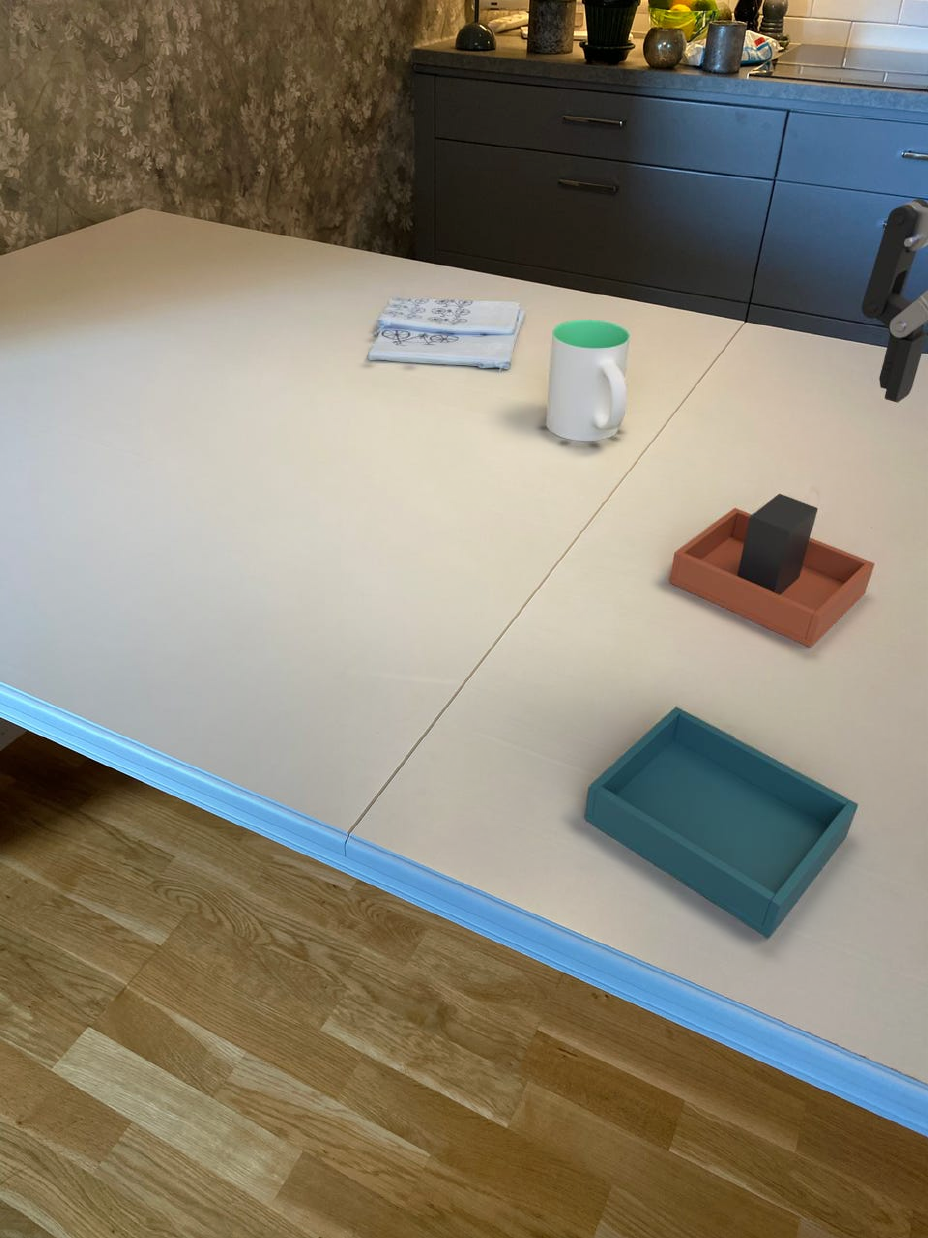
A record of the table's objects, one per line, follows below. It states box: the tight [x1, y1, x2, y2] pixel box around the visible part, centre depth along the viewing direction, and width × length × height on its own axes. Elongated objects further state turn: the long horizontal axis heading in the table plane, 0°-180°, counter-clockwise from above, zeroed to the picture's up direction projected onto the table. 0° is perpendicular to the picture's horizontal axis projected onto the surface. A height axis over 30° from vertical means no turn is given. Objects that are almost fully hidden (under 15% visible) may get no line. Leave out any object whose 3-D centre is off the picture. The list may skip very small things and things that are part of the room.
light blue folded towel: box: [367, 297, 526, 372], centre depth 128 cm, size 19×20×2 cm
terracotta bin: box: [668, 507, 875, 648], centre depth 83 cm, size 13×10×3 cm
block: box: [737, 493, 819, 595], centre depth 81 cm, size 4×5×7 cm
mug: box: [545, 319, 631, 442], centre depth 104 cm, size 12×8×10 cm, turn 22°
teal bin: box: [583, 706, 859, 939], centre depth 62 cm, size 13×10×3 cm
